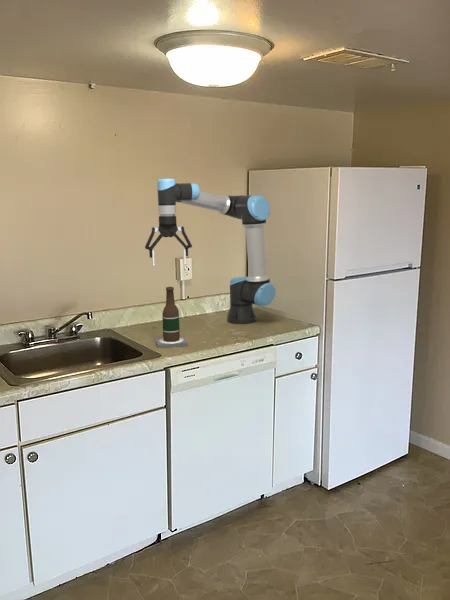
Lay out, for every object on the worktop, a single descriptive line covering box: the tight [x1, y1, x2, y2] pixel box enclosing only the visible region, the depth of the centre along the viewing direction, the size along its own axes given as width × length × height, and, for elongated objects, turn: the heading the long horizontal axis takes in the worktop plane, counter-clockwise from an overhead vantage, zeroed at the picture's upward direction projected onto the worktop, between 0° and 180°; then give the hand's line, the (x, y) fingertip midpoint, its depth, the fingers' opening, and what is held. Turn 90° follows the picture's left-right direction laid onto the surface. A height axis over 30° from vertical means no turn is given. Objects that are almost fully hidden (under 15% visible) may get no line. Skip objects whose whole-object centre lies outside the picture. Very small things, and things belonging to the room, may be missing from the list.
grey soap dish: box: [155, 336, 188, 349], centre depth 249 cm, size 13×11×2 cm
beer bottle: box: [161, 286, 181, 342], centre depth 246 cm, size 8×8×24 cm
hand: (169, 264), depth 242 cm, fingers open, 13 cm apart
